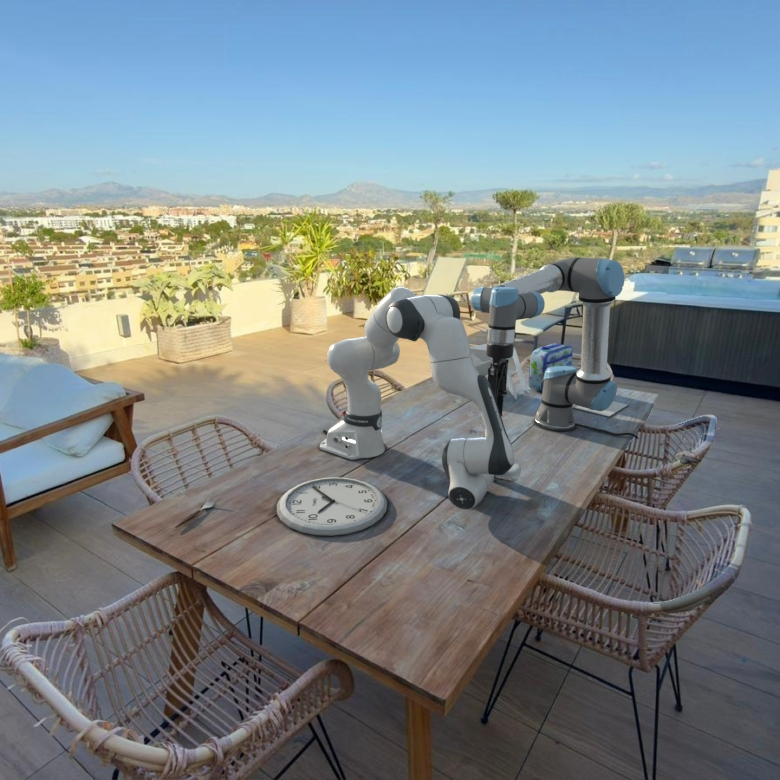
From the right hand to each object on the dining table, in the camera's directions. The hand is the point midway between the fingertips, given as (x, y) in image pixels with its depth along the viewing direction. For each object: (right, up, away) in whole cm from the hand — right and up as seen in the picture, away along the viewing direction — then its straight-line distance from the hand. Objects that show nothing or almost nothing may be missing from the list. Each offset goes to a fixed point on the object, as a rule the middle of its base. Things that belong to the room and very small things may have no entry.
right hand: (494, 418), depth 155 cm
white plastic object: (+11, +7, +88) cm, 89 cm away
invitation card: (+61, +1, +71) cm, 93 cm away
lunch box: (+45, +10, +97) cm, 107 cm away
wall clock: (-47, -23, -12) cm, 53 cm away
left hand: (0, -12, +4) cm, 12 cm away
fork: (-82, -24, -18) cm, 87 cm away
